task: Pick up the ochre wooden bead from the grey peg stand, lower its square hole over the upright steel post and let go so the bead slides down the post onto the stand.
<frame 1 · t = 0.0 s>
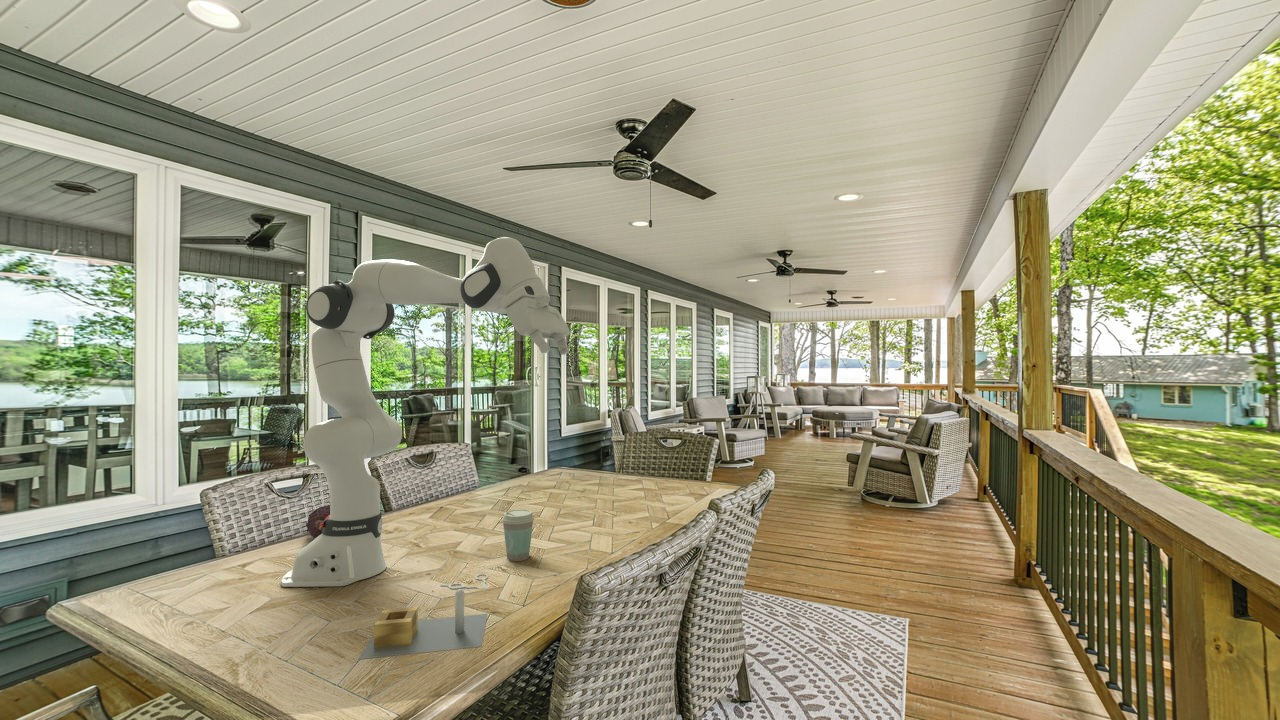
hand: (556, 352, 117), 54 cm above the table, tool tilted 30°, fingers open, 8 cm apart
coffee cup: (518, 558, 142), on the table
scissors: (484, 592, 121), on the table
grey peg stand: (428, 642, 97), on the table
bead: (396, 637, 95), point 1 cm above the table, touching grey peg stand
pine cone: (325, 539, 159), on the table
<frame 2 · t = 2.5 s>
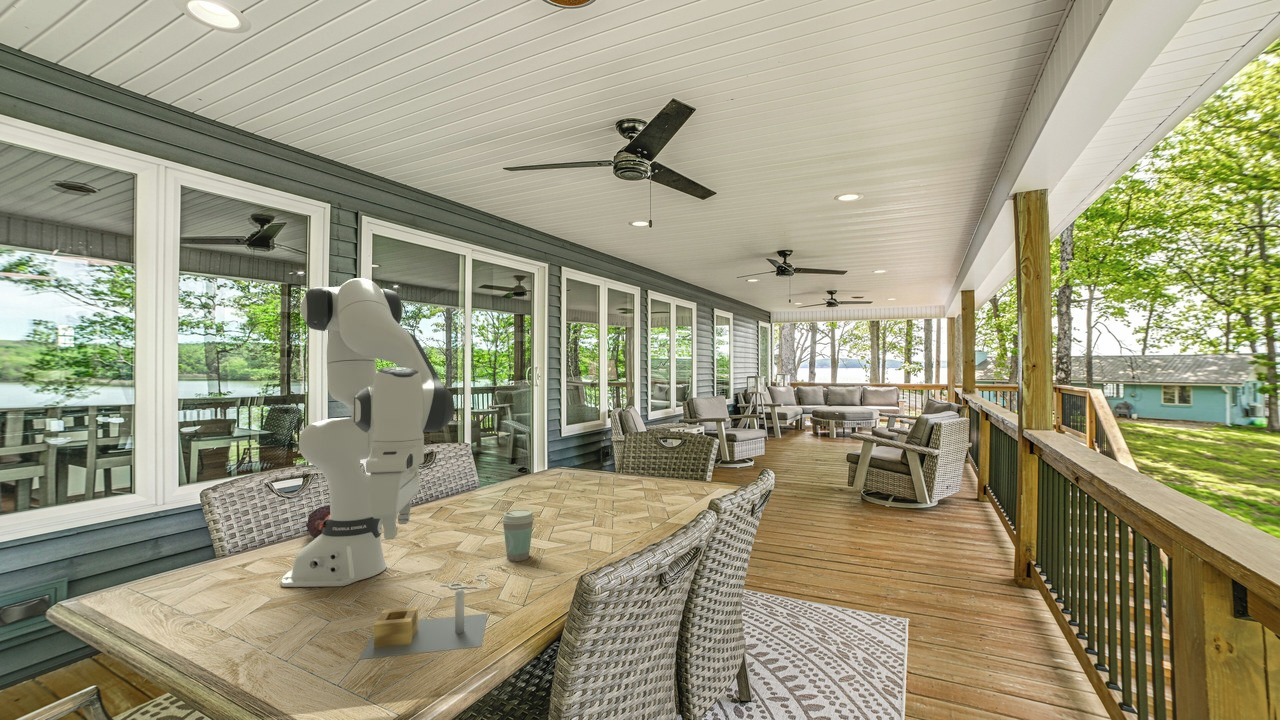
hand: (397, 530, 96), 21 cm above the table, tool pointing down, fingers open, 8 cm apart
nothing on the table moved.
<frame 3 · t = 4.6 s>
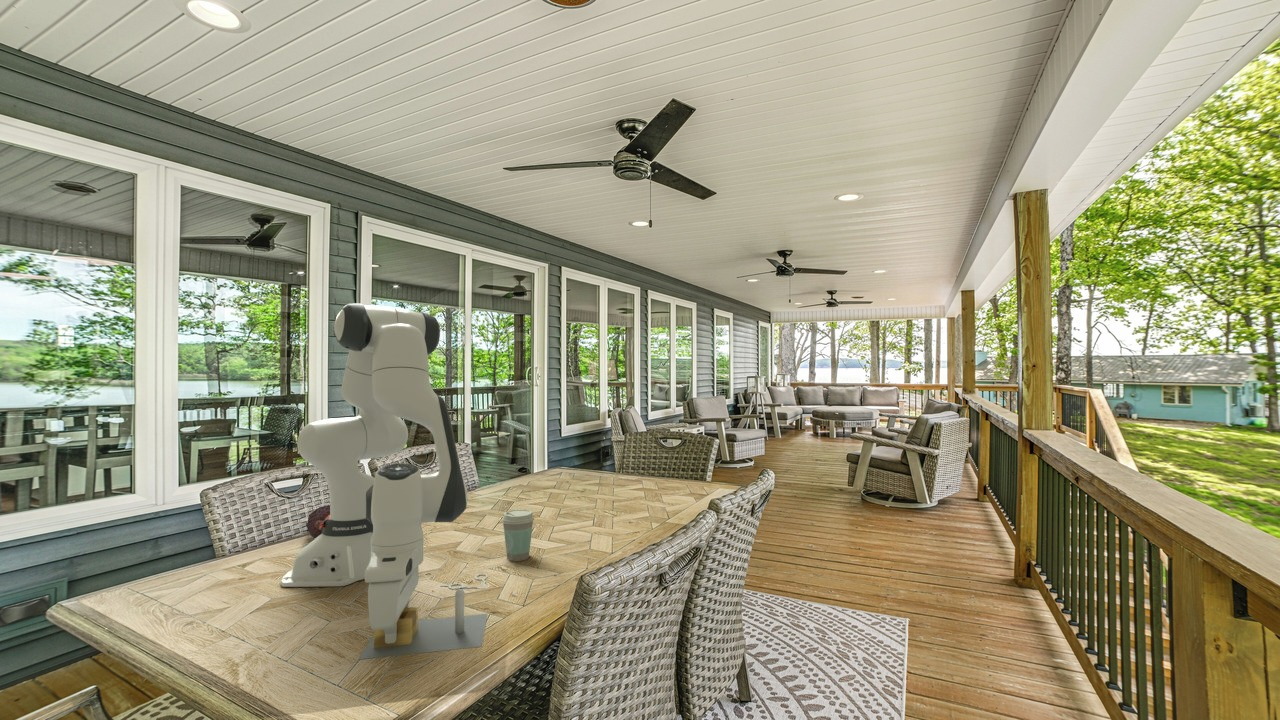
hand: (396, 631, 95), 3 cm above the table, tool pointing down, fingers closed on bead, 6 cm apart
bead: (396, 637, 95), point 1 cm above the table, touching gripper, grey peg stand
everything else where it was.
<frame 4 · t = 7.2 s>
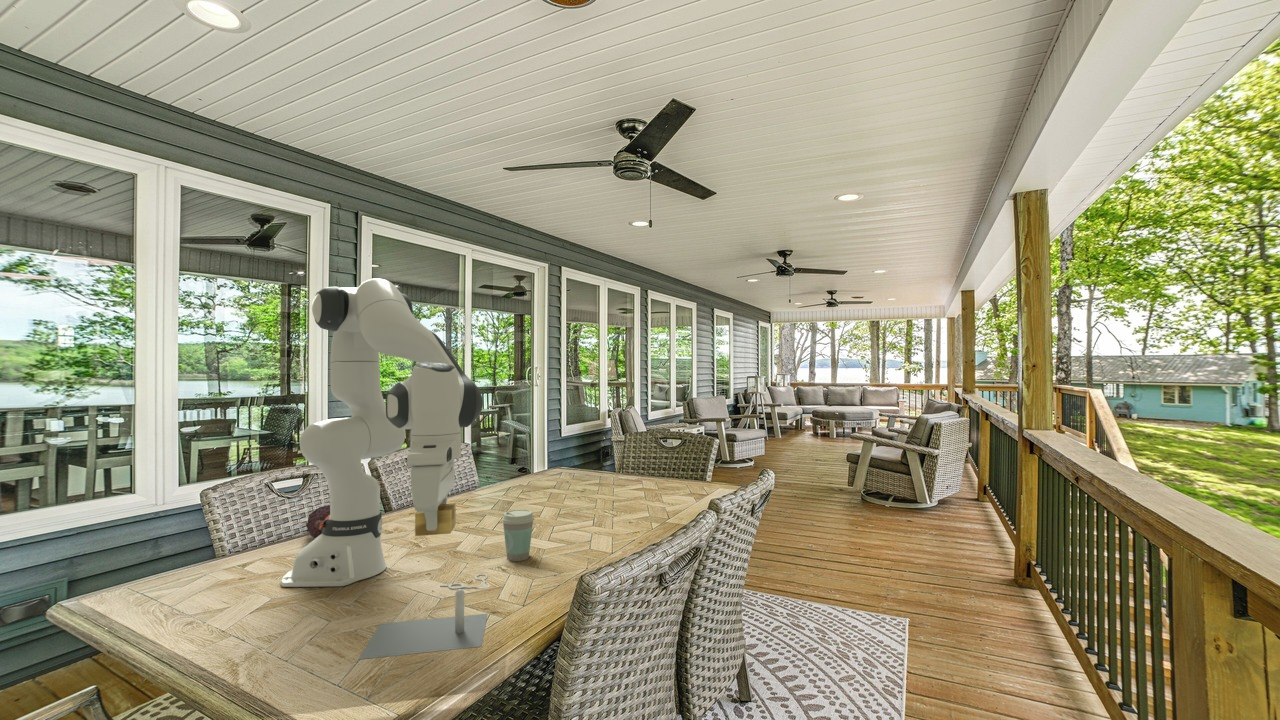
hand: (436, 523, 97), 22 cm above the table, tool pointing down, fingers closed on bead, 6 cm apart
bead: (436, 530, 97), point 21 cm above the table, touching gripper
everything else where it was.
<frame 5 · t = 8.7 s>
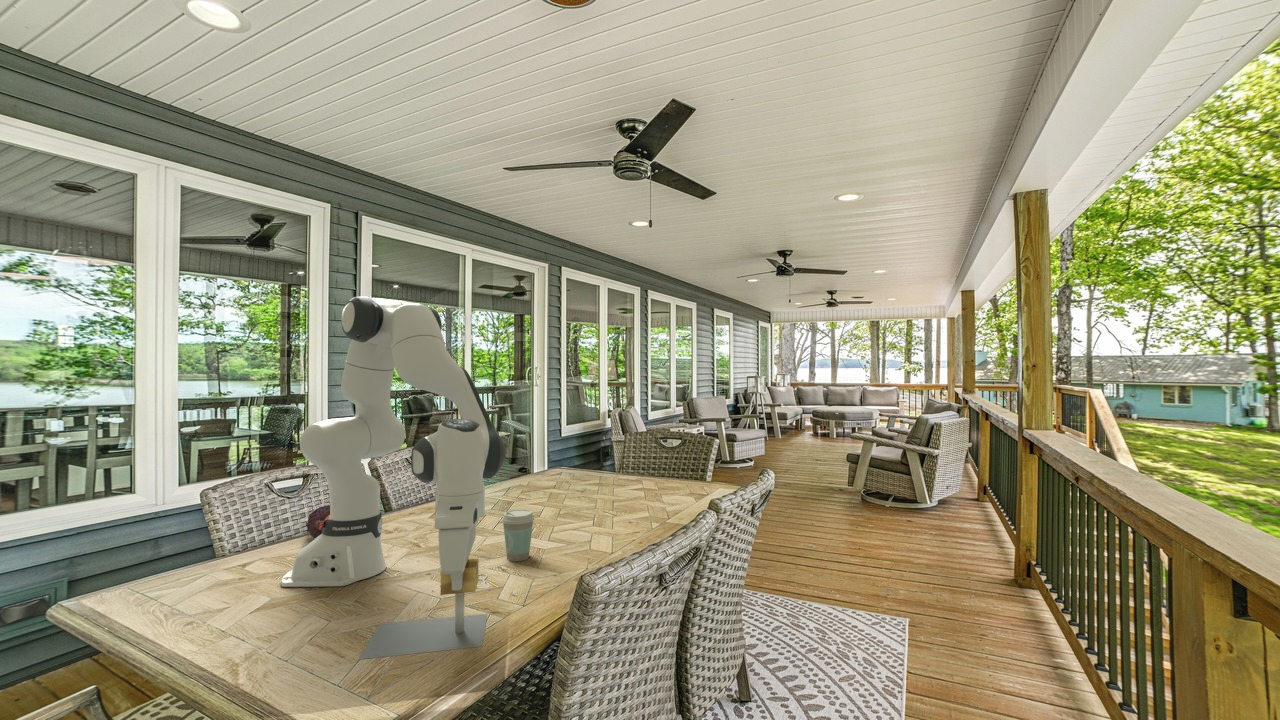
hand: (460, 580, 98), 11 cm above the table, tool pointing down, fingers closed on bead, 6 cm apart
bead: (460, 587, 98), point 10 cm above the table, touching gripper
everything else where it was.
when the fingers open (7 cm above the table, at t = 10.0 s): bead drops 4 cm, resting on grey peg stand.
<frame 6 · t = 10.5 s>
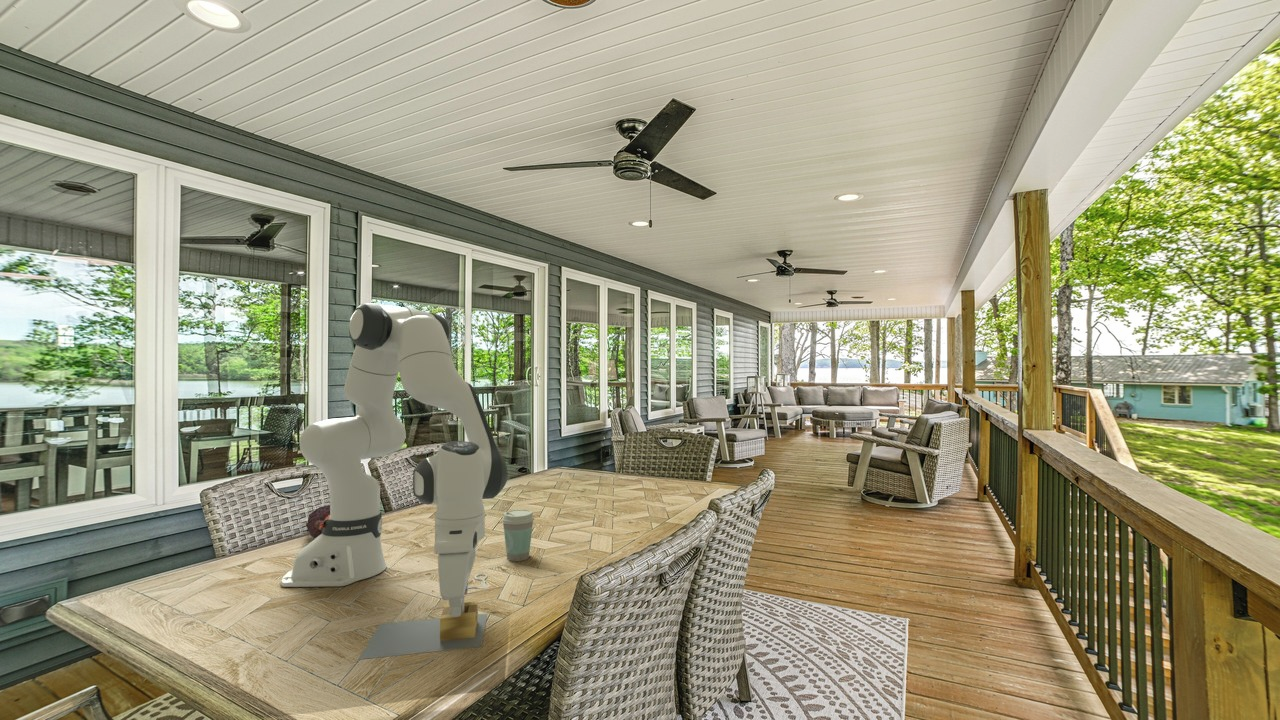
hand: (459, 603, 98), 7 cm above the table, tool pointing down, fingers open, 8 cm apart
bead: (459, 631, 98), point 1 cm above the table, touching grey peg stand
everything else where it was.
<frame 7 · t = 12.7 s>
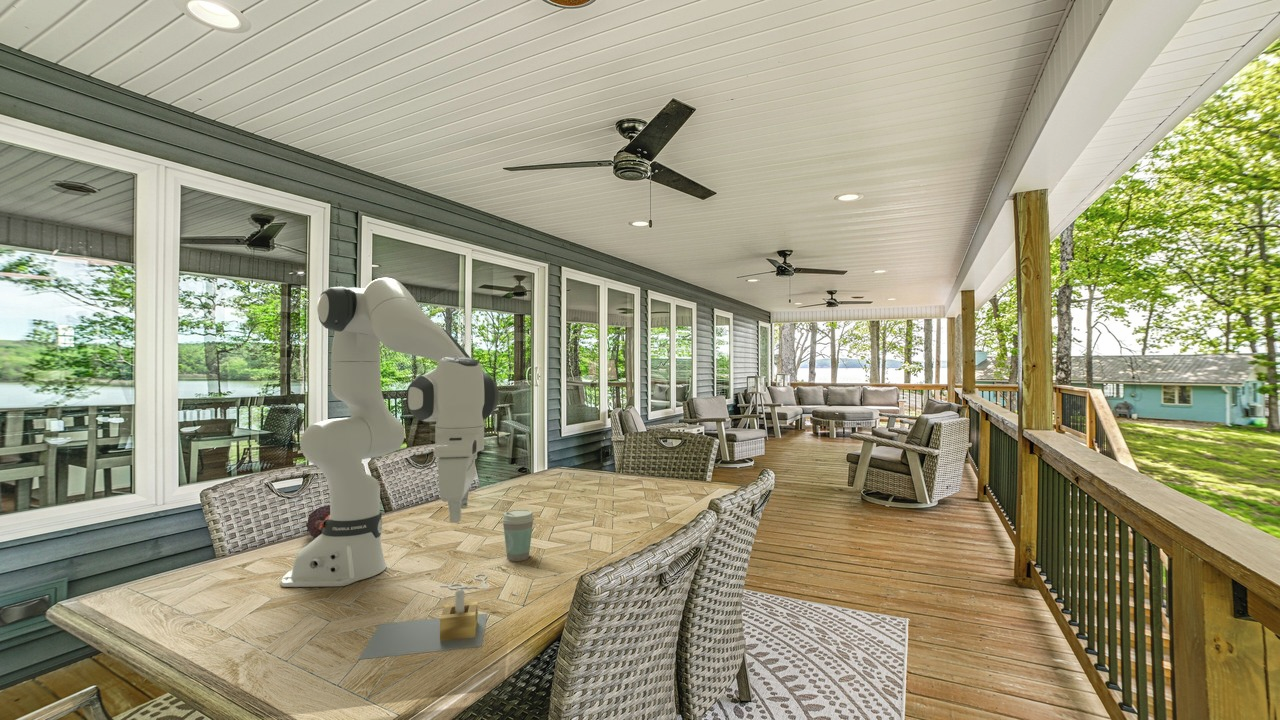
hand: (459, 514, 99), 23 cm above the table, tool pointing down, fingers open, 8 cm apart
nothing on the table moved.
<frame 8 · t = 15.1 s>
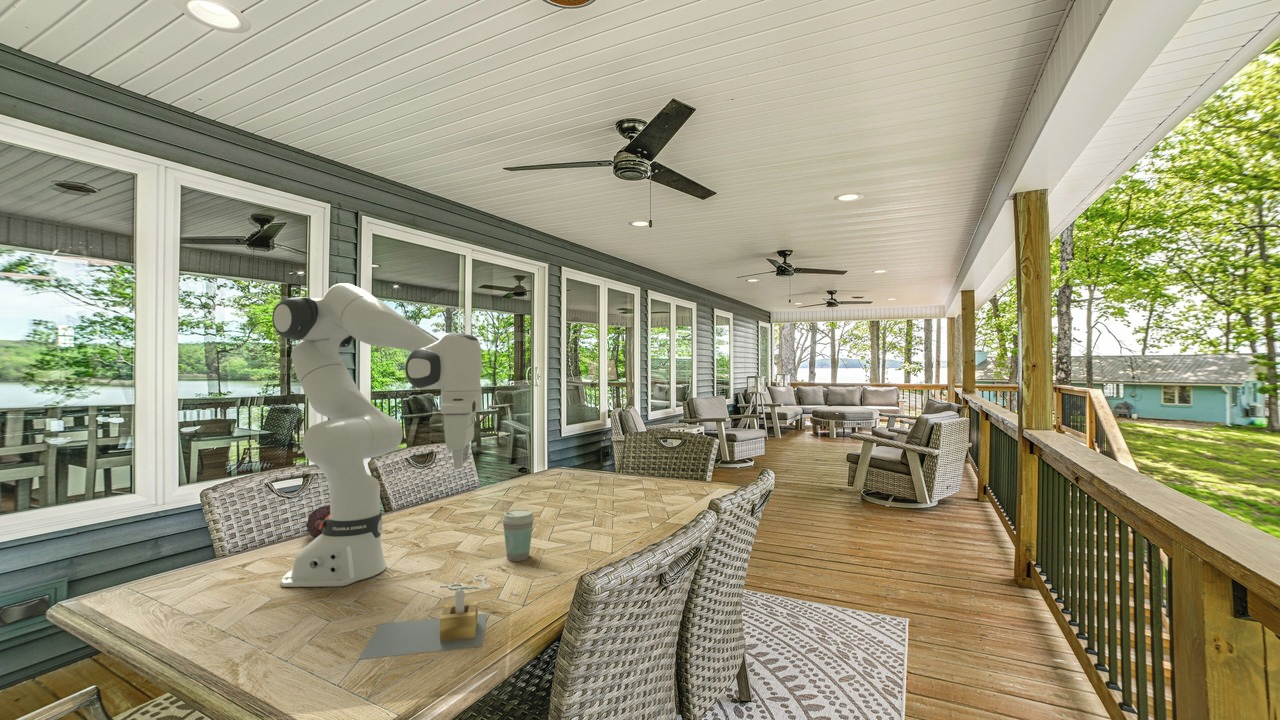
hand: (461, 464, 118), 29 cm above the table, tool pointing down, fingers open, 8 cm apart
nothing on the table moved.
at the end: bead 0.0 cm from the target spot on the grey peg stand, point 1.5 cm above the grey peg stand's base; the gripper is holding nothing; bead tilted 0° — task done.
